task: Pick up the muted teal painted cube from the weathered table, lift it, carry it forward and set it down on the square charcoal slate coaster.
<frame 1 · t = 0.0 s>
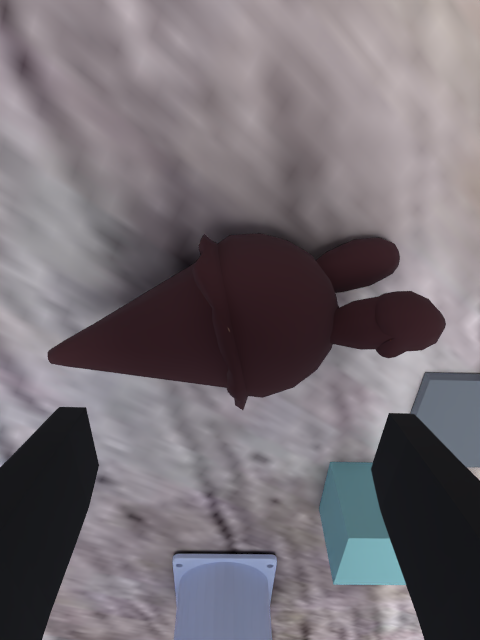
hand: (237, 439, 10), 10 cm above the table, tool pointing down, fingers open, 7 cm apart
teal cube: (360, 485, 27), on the table
slate coaster: (466, 419, 24), on the table
dark brown lumpy figure: (235, 281, 19), on the table
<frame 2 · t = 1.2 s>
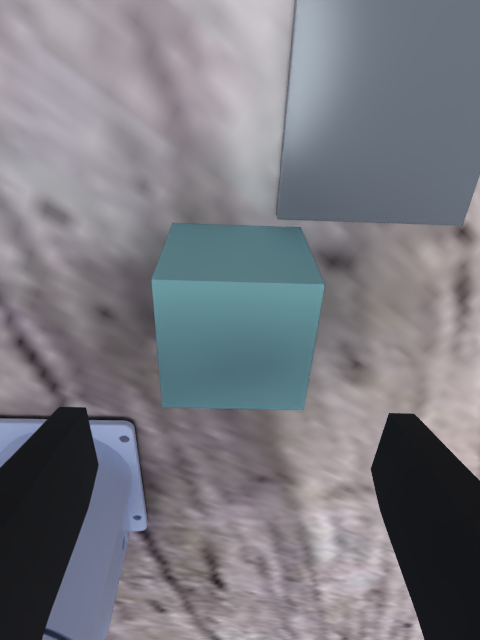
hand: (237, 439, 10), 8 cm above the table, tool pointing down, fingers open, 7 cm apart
teal cube: (234, 281, 17), on the table
slate coaster: (387, 116, 14), on the table
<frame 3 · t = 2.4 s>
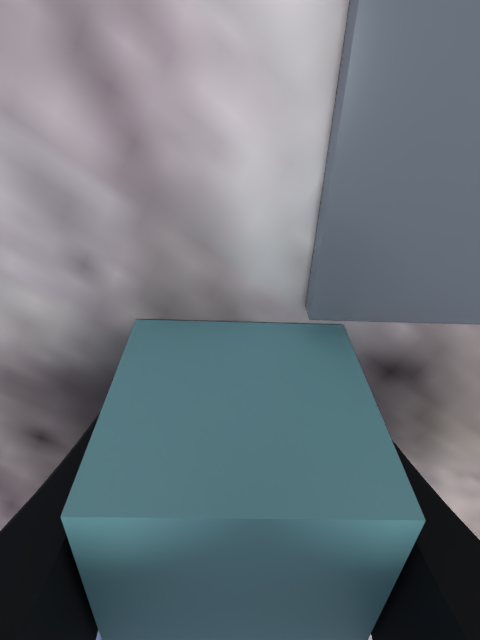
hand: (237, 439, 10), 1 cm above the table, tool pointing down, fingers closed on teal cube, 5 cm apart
teal cube: (236, 399, 11), on the table, touching gripper
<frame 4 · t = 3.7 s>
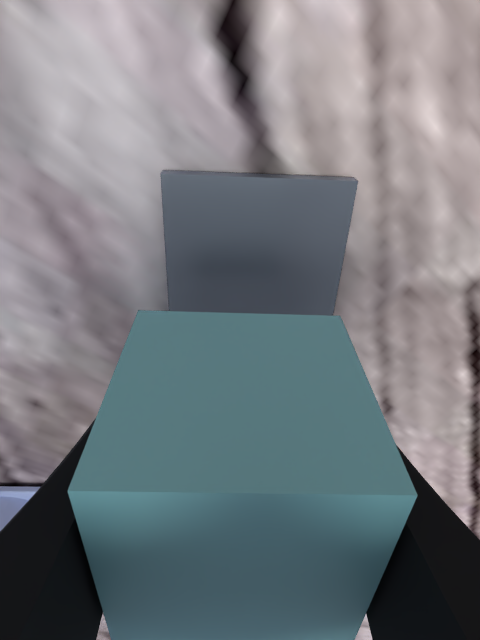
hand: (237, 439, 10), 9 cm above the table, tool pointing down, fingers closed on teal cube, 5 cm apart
teal cube: (236, 389, 11), point 7 cm above the table, touching gripper
slate coaster: (253, 262, 17), on the table
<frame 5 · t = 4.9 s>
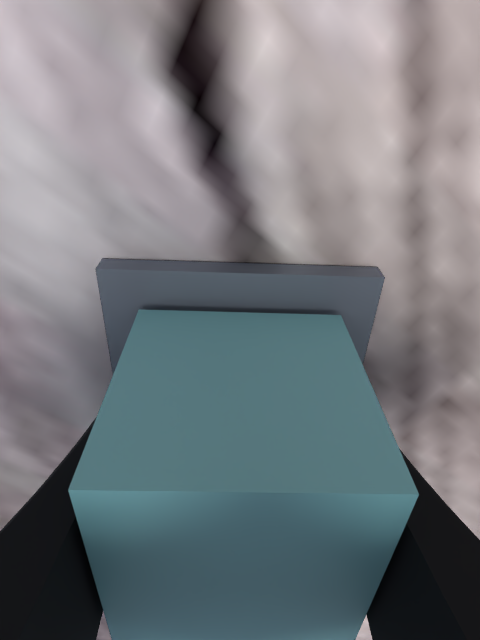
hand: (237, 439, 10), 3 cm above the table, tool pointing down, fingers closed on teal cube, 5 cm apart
teal cube: (237, 389, 11), point 1 cm above the table, touching gripper
slate coaster: (236, 370, 12), on the table
when the fingers open (2 cm above the table, at t = 5.4 s): teal cube stays where it is, resting on slate coaster.
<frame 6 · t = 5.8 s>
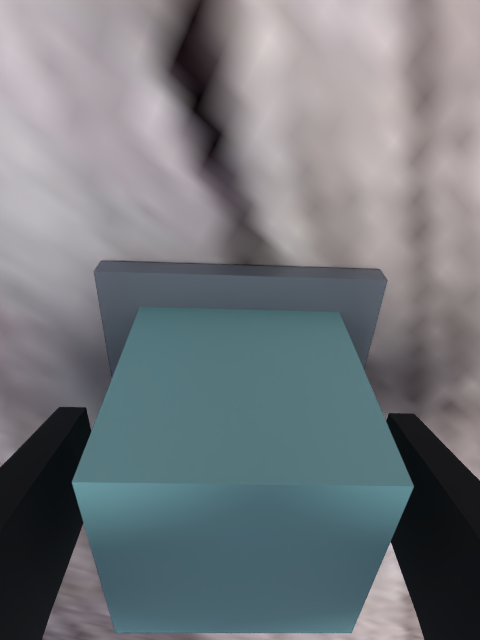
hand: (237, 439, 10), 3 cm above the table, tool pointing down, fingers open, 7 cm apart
teal cube: (236, 385, 11), point 1 cm above the table, touching slate coaster
slate coaster: (236, 373, 12), on the table
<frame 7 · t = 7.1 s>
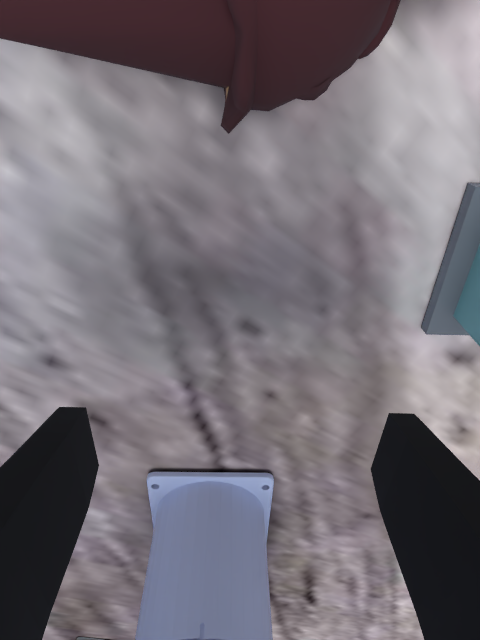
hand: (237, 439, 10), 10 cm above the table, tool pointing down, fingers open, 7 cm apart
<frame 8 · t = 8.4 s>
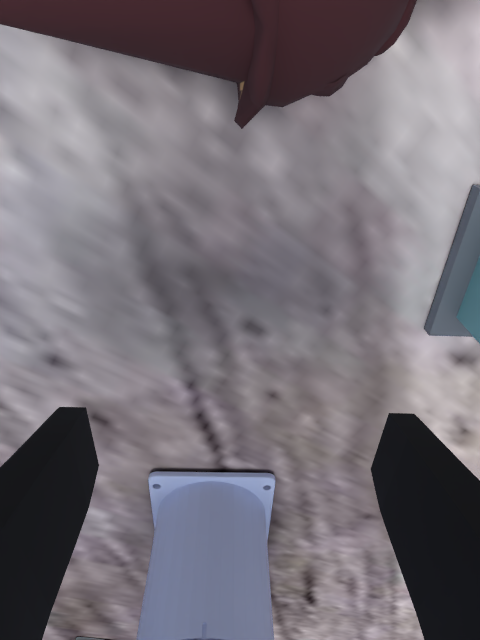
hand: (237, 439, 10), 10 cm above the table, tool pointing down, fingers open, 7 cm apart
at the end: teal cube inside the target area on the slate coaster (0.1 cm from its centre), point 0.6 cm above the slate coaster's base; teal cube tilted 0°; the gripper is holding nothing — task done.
